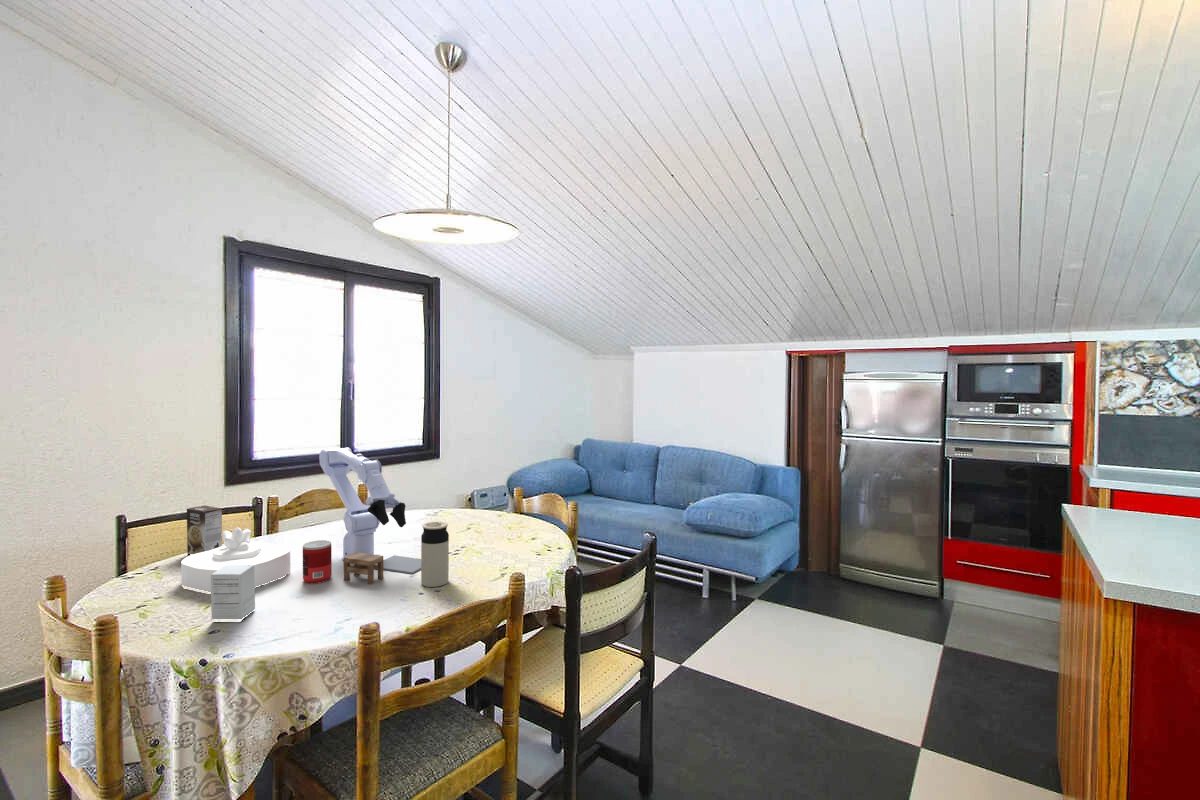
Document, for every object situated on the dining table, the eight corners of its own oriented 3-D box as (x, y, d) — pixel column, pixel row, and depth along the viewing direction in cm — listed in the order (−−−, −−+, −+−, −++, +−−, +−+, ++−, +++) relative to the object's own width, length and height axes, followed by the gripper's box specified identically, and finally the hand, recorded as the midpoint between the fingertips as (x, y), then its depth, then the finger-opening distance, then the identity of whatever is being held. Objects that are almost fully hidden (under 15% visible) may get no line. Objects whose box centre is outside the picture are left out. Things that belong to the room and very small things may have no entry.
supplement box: (226, 611, 154) (225, 564, 153) (256, 611, 154) (255, 564, 154) (210, 623, 146) (209, 574, 146) (241, 623, 147) (240, 573, 146)
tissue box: (167, 586, 171) (166, 532, 170) (246, 561, 194) (246, 513, 193) (227, 600, 162) (226, 542, 161) (302, 571, 185) (302, 521, 184)
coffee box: (186, 555, 198) (185, 508, 197) (205, 550, 204) (204, 504, 203) (204, 559, 195) (203, 511, 194) (223, 553, 201) (222, 507, 200)
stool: (343, 580, 178) (343, 557, 177) (356, 574, 183) (356, 552, 183) (371, 584, 175) (371, 561, 174) (383, 578, 180) (383, 555, 180)
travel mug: (424, 589, 171) (424, 529, 171) (419, 580, 178) (419, 522, 178) (451, 585, 175) (451, 526, 174) (445, 576, 182) (445, 520, 181)
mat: (370, 567, 189) (370, 566, 189) (394, 556, 200) (394, 555, 200) (412, 574, 184) (412, 572, 184) (434, 562, 195) (434, 560, 195)
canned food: (337, 576, 181) (337, 541, 180) (316, 585, 173) (316, 548, 173) (317, 573, 183) (317, 538, 183) (296, 582, 176) (296, 546, 175)
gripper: (371, 479, 183) (387, 513, 176) (403, 486, 195) (419, 518, 189) (355, 493, 183) (371, 528, 177) (388, 499, 196) (404, 532, 190)
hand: (394, 524), depth 183 cm, fingers open, 7 cm apart
